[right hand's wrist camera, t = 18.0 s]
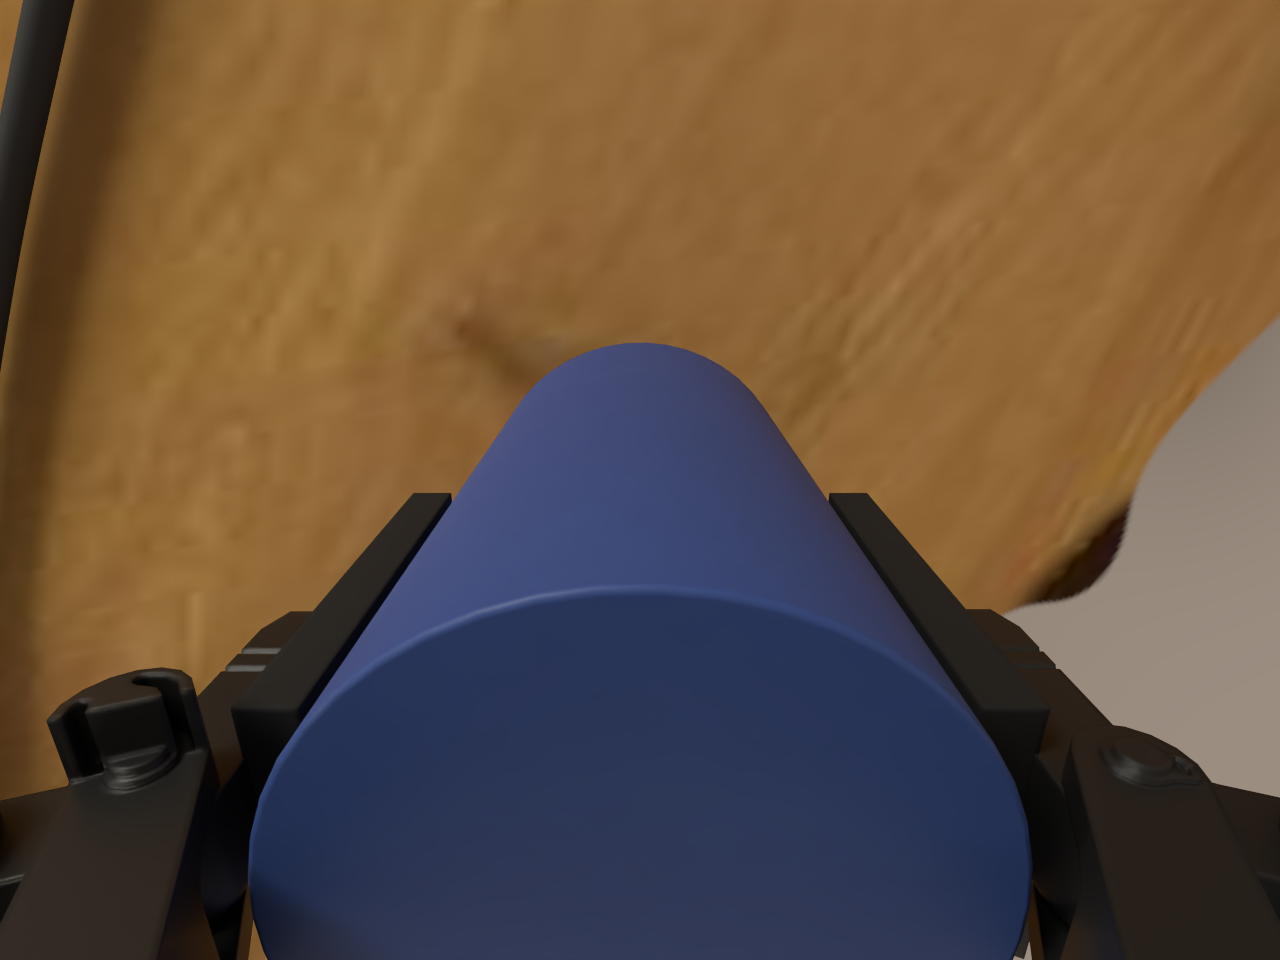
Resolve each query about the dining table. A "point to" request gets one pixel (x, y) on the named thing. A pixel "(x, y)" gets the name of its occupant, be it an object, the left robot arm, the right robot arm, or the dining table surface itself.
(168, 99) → the dining table surface
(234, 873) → the right robot arm
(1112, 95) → the dining table surface
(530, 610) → the cylinder
